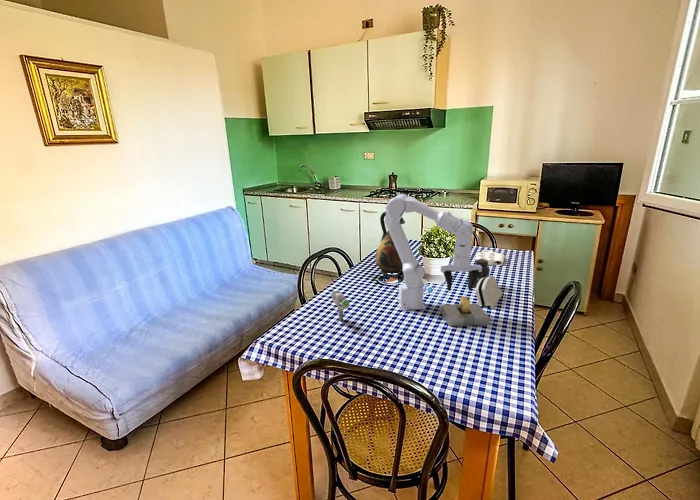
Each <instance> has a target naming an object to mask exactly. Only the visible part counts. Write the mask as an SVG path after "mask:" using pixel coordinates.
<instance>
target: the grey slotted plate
mask: <svg viewBox="0 0 700 500" xmlns="http://www.w3.org/2000/svg"><path fill="white" fill-rule="evenodd" d="M459 310H460V303H454V304H450V303H449V304H448V303H447V304H440V314H441V315H442V317H443V318H444V320H445V322H446V324H448V327H466V326H489V321H490V316H489V315H488V314H487V312H486V311H484V309H483V308H482V306H479V303H478V302H477V303H470V308H469V314H461V313H460V312H459Z"/></svg>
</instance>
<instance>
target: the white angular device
mask: <svg viewBox="0 0 700 500" xmlns="http://www.w3.org/2000/svg"><path fill="white" fill-rule="evenodd" d="M475 294H476V299H477V303H478V305H479V306H480V307H483V306H485V307H487V306H489V307H490V309H491V310H493V309H494V308H495V306H496V304H497V303H498V302H499V300H500V299H501V297H502V296H503V291H502V290H501V289H500V288H499V286H498V283H497V280H496V278H495V276H491V275H489V277H484V278H482V279H480V280H479V282H478V284H477V286H476V288H475Z"/></svg>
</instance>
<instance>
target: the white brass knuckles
mask: <svg viewBox="0 0 700 500" xmlns="http://www.w3.org/2000/svg"><path fill="white" fill-rule="evenodd" d="M475 256H476V257H474V258H473V259H474V260H476V261H477V260H478V259H485V260H487V261H488V267H489V266H493V265H494V266H503V265H504V261H505V258H506V256H505V255H504V254H503V253H500V252H499V253H498V252H494V251H493V250H489V249H484V250H482V251H479V252H478V253H477V254H475ZM498 263H499V264H498Z"/></svg>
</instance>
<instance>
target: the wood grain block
mask: <svg viewBox="0 0 700 500" xmlns="http://www.w3.org/2000/svg"><path fill="white" fill-rule="evenodd" d="M459 299H460V300H459V304H460V310H459V312H460V313H461V314H469V308H470V304H471V299H470V298H469V297H468V295H467V296H463V295H462V296H460V298H459Z"/></svg>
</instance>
